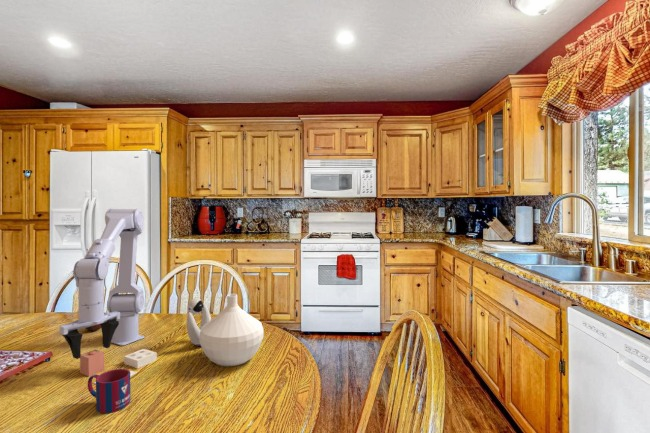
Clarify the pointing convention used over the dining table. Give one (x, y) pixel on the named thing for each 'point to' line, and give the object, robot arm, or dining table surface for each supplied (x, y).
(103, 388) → the mug
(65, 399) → the dining table surface
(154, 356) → the base brick
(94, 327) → the apple
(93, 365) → the red brick
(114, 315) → the robot arm
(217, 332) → the vase
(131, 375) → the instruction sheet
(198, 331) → the toy
